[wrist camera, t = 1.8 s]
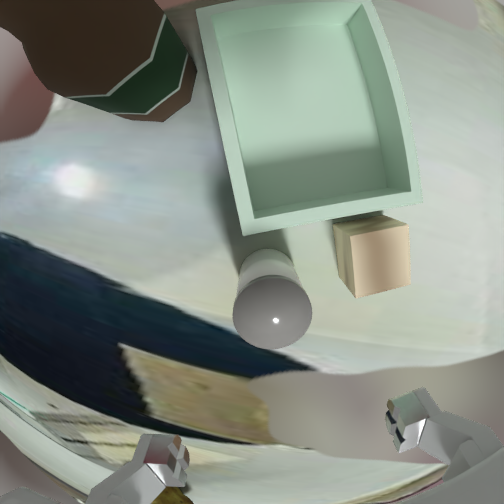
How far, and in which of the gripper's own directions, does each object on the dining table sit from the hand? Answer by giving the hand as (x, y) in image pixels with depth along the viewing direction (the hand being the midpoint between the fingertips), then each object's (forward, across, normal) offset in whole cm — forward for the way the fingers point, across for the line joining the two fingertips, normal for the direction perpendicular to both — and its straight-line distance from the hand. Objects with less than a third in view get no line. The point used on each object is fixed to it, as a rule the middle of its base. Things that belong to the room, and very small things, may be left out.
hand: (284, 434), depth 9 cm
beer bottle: (+18, +6, -19) cm, 27 cm away
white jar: (+18, 0, 0) cm, 18 cm away
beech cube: (+18, -9, -1) cm, 20 cm away
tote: (+18, -6, -14) cm, 23 cm away
